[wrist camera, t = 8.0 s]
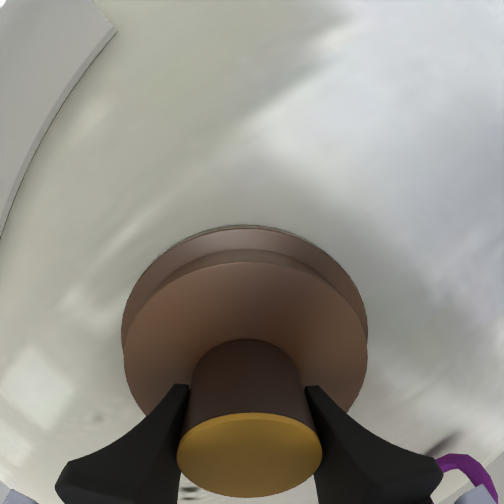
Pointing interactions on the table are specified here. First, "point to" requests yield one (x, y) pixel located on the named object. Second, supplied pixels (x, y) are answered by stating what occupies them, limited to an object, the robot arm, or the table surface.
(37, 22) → the butter dish
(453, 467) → the mug
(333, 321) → the pod stand
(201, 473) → the coffee pod
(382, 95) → the table surface
